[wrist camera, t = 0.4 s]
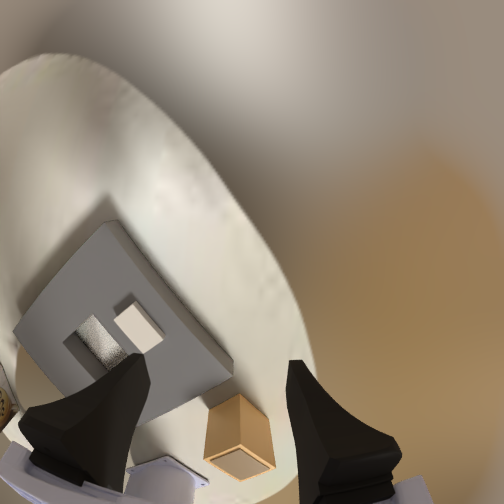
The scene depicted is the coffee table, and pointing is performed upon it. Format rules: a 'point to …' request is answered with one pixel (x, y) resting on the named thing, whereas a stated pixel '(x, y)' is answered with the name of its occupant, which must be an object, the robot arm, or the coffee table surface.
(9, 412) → the coffee box
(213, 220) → the coffee table surface
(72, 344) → the socket plate
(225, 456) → the plug
